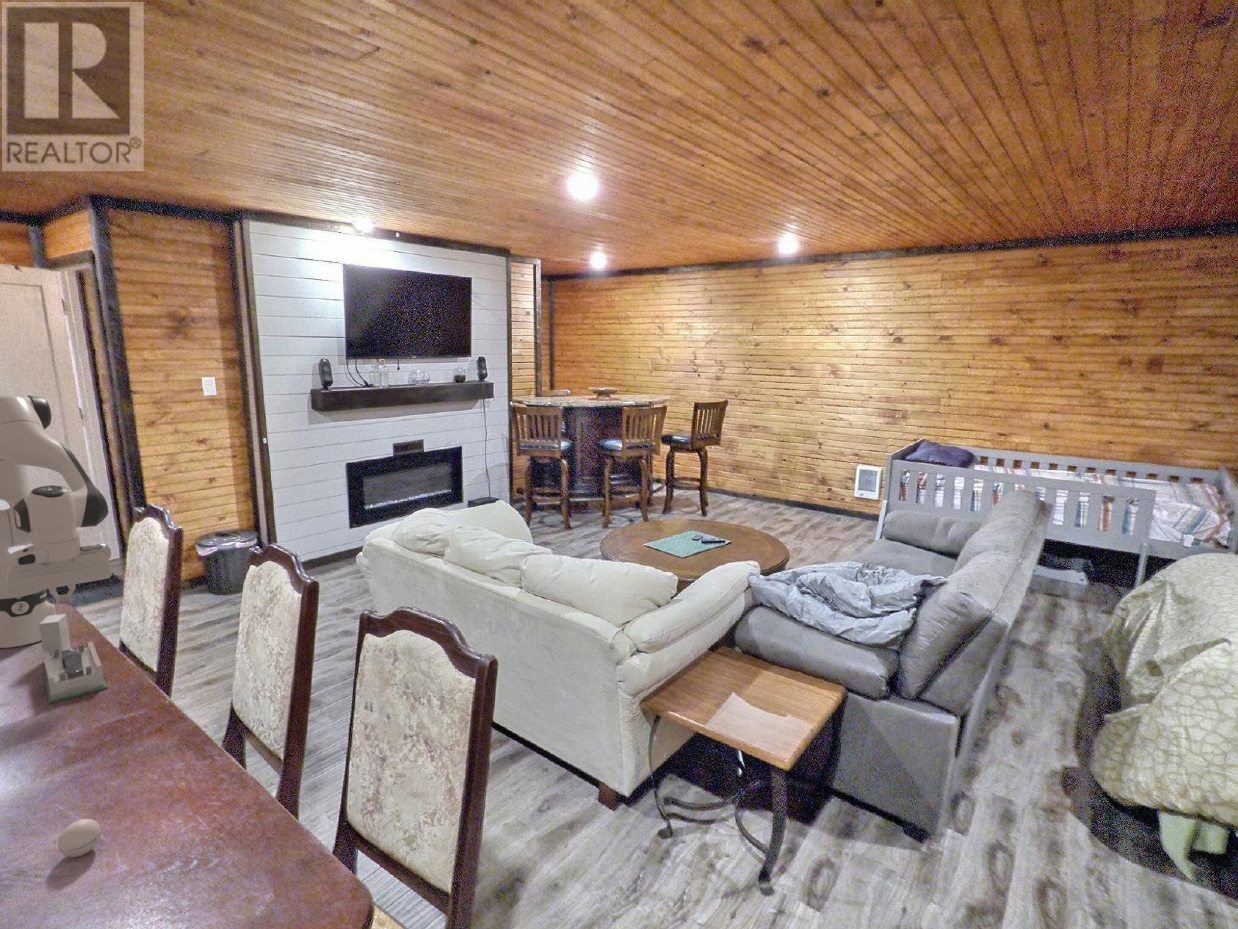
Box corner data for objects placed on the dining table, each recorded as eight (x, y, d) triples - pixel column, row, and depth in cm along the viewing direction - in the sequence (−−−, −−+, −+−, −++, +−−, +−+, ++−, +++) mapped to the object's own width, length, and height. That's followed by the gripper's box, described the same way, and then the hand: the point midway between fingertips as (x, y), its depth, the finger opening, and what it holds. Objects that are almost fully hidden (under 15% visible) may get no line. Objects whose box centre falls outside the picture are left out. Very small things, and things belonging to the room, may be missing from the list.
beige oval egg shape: (57, 871, 103) (53, 840, 102) (61, 849, 108) (58, 820, 107) (117, 850, 108) (113, 821, 107) (118, 830, 112) (115, 802, 111)
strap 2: (83, 674, 157) (83, 671, 157) (67, 678, 155) (67, 675, 155) (79, 654, 162) (79, 652, 161) (64, 658, 159) (63, 655, 159)
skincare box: (52, 656, 176) (47, 615, 174) (72, 653, 177) (66, 613, 175) (43, 665, 170) (38, 624, 168) (64, 662, 172) (58, 621, 170)
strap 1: (61, 654, 167) (61, 651, 167) (76, 651, 169) (76, 647, 169) (64, 662, 162) (63, 659, 161) (79, 659, 164) (78, 655, 164)
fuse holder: (43, 673, 166) (39, 649, 165) (96, 660, 174) (94, 637, 173) (49, 704, 152) (45, 679, 150) (107, 688, 159) (104, 664, 158)
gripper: (108, 540, 168) (113, 589, 171) (1, 555, 154) (9, 608, 156) (111, 545, 164) (117, 595, 166) (2, 561, 150) (10, 616, 152)
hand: (64, 602), depth 161 cm, fingers closed
